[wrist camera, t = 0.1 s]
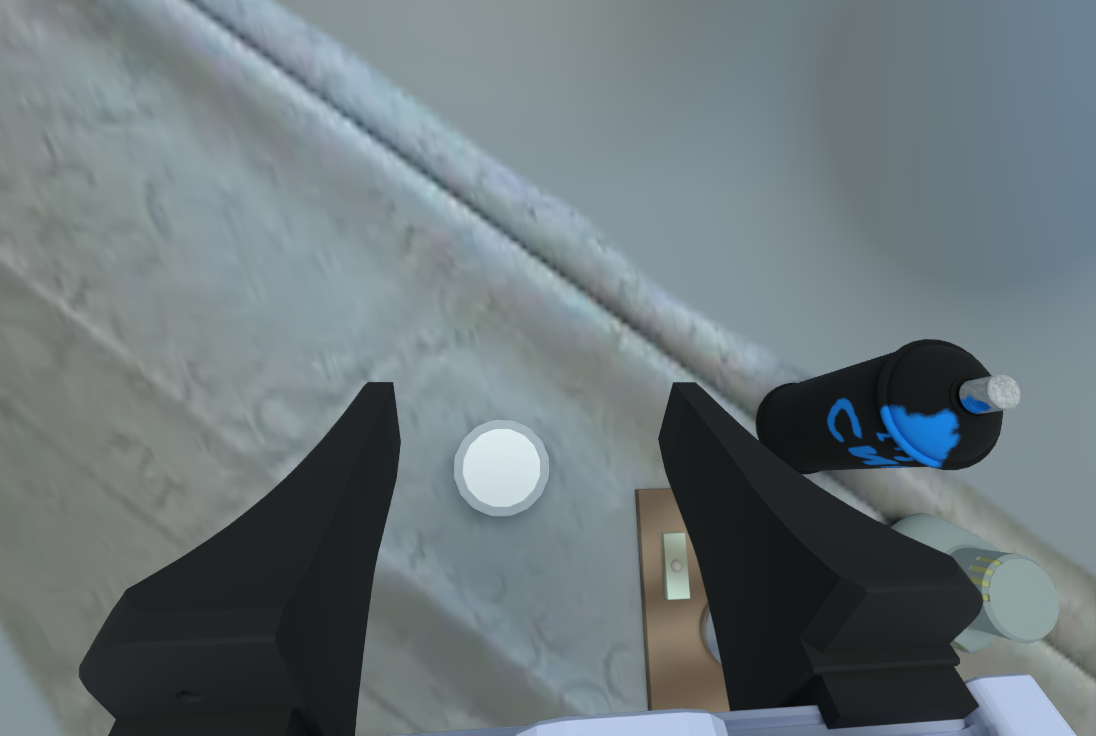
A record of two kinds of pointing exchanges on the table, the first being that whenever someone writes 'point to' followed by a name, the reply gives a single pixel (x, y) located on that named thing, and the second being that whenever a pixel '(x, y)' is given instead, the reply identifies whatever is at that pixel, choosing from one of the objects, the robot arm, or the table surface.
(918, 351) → the aerosol can
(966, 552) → the air freshener
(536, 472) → the white cylinder
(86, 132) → the table surface
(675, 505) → the board
